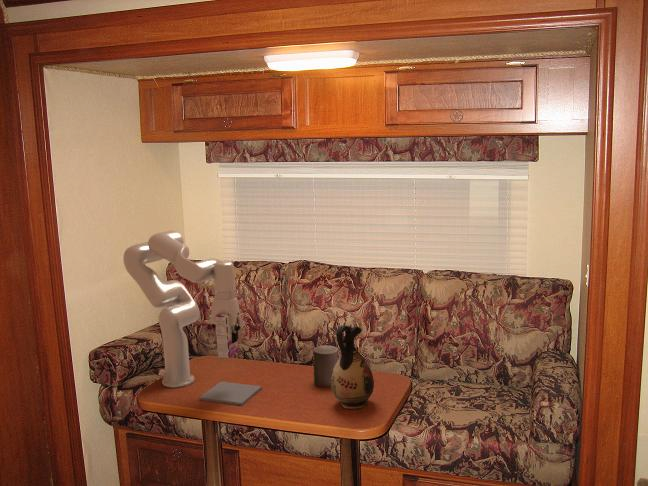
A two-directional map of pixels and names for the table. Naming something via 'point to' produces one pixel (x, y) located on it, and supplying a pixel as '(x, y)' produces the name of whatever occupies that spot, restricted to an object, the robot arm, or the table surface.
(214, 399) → the rubber mat
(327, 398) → the table surface
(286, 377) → the table surface
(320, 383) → the pillar candle
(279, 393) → the table surface
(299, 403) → the table surface
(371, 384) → the ceramic jug
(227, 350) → the candy bar box
